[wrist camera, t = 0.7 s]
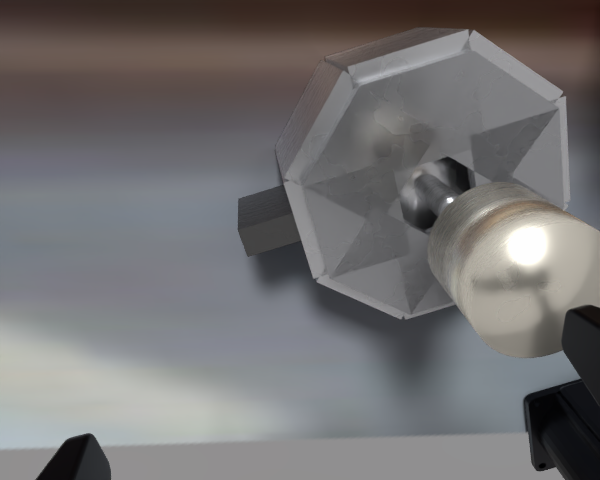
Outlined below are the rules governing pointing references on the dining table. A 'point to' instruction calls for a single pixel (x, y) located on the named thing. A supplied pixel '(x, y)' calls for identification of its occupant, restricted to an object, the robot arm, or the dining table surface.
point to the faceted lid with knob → (402, 157)
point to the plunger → (504, 256)
